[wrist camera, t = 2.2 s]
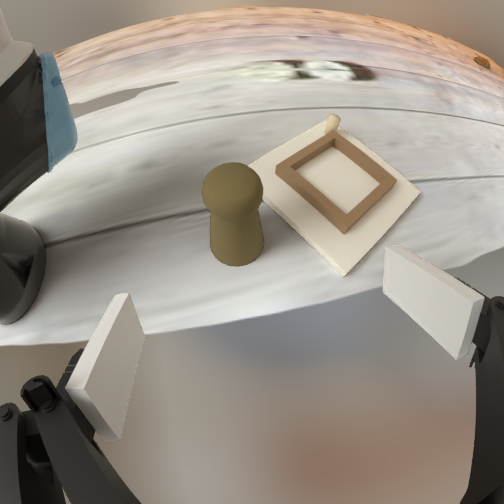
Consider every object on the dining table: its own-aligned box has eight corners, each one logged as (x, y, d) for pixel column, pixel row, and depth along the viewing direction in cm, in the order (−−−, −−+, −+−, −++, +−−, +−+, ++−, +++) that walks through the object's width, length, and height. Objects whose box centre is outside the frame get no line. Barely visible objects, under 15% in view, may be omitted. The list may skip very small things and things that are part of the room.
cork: (209, 220, 34) (195, 154, 24) (261, 216, 34) (265, 150, 24) (210, 268, 31) (192, 212, 21) (266, 264, 31) (273, 207, 21)
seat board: (237, 177, 37) (236, 155, 33) (326, 124, 42) (331, 104, 38) (343, 277, 31) (355, 261, 27) (417, 196, 36) (429, 179, 32)
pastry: (480, 66, 70) (483, 60, 66) (470, 57, 73) (472, 51, 69) (490, 70, 71) (492, 64, 68) (480, 61, 74) (482, 55, 70)
